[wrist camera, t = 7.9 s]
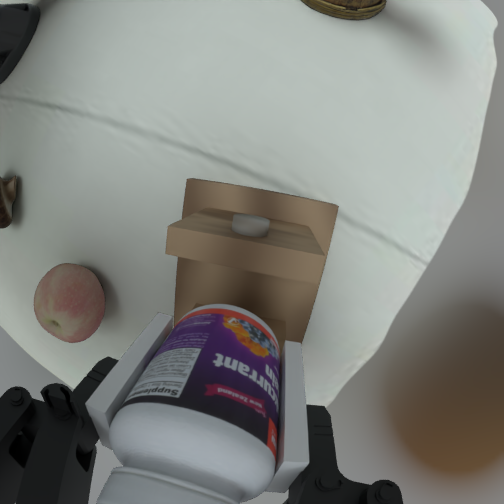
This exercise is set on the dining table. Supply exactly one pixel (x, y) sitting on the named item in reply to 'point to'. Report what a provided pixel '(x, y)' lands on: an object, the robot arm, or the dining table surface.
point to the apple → (69, 302)
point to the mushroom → (7, 200)
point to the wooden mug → (348, 8)
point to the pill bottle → (200, 415)
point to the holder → (251, 253)
